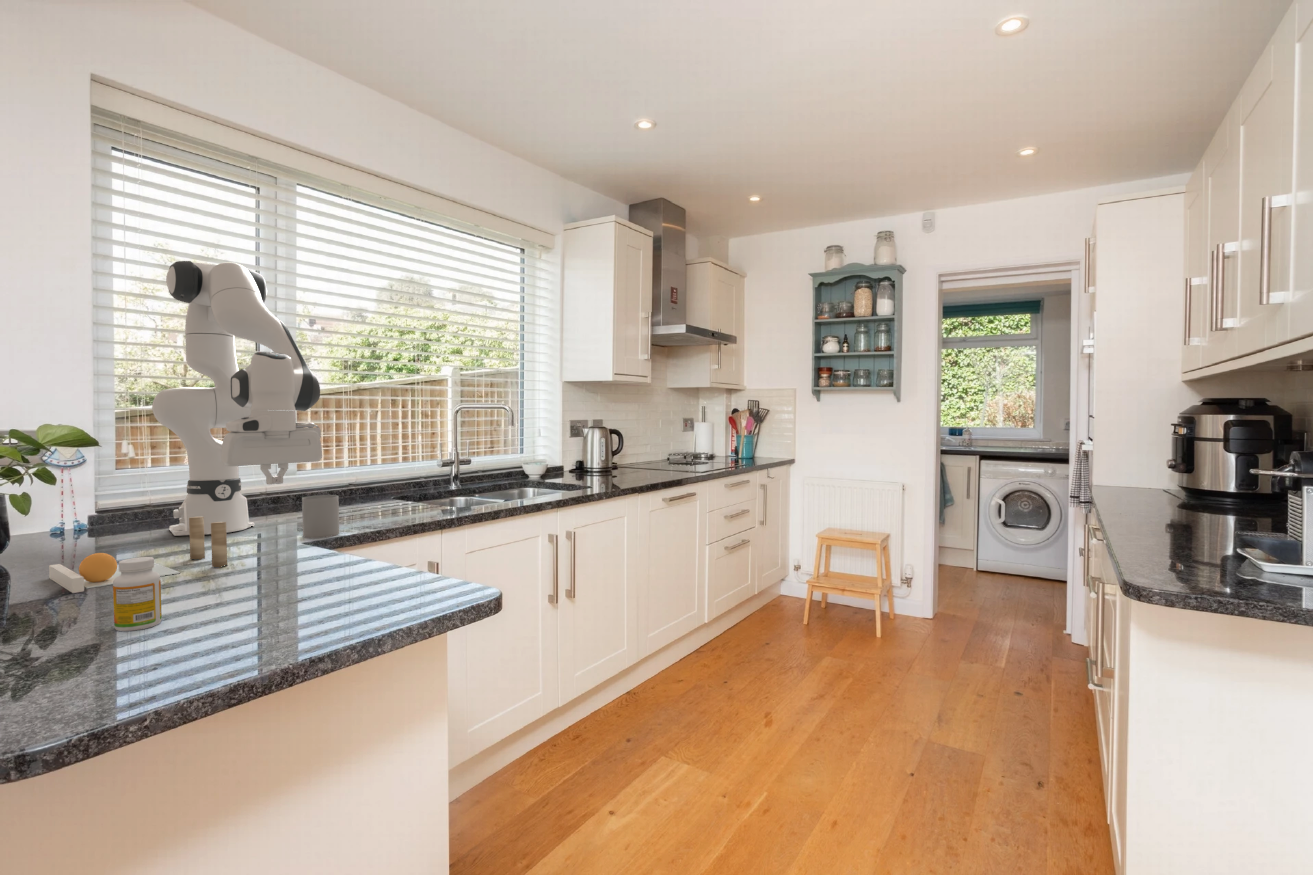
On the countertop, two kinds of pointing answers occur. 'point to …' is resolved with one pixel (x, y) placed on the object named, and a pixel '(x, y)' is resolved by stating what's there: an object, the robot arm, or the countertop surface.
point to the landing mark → (157, 568)
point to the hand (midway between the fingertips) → (274, 483)
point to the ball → (98, 567)
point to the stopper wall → (66, 578)
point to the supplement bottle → (137, 595)
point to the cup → (320, 516)
